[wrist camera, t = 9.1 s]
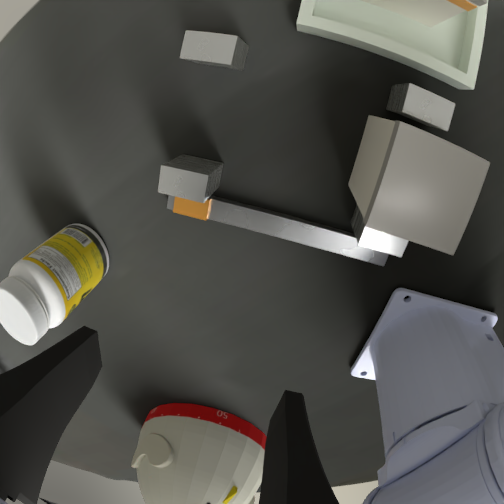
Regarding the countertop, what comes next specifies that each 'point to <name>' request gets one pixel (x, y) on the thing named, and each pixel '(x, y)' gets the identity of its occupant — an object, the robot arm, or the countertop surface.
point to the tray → (403, 36)
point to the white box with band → (428, 8)
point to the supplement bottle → (51, 282)
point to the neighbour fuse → (415, 184)
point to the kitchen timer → (198, 456)
